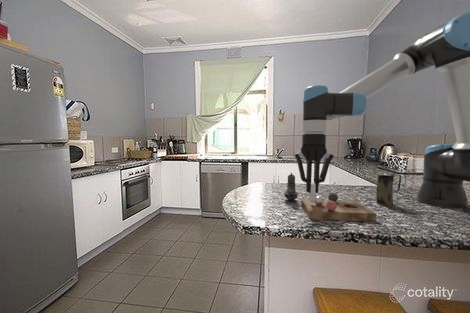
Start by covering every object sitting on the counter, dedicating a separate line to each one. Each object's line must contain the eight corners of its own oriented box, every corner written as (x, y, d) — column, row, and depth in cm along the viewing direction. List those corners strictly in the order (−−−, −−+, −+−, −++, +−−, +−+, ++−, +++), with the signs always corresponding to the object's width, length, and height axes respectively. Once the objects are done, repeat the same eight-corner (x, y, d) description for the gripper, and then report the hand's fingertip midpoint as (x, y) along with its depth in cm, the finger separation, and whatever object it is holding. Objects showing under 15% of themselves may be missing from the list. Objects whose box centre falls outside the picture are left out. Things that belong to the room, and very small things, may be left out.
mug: (379, 205, 86) (381, 174, 85) (373, 201, 91) (374, 172, 90) (402, 206, 84) (404, 175, 83) (395, 202, 90) (396, 173, 89)
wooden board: (356, 207, 83) (356, 201, 83) (376, 221, 69) (376, 213, 69) (301, 206, 85) (301, 199, 85) (309, 219, 71) (309, 211, 71)
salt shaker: (299, 204, 88) (299, 173, 87) (283, 203, 89) (284, 173, 88) (297, 200, 94) (298, 171, 93) (283, 199, 95) (283, 171, 94)
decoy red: (334, 209, 73) (335, 199, 73) (338, 212, 70) (338, 202, 70) (324, 208, 74) (324, 199, 74) (327, 212, 71) (327, 202, 70)
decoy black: (335, 200, 84) (336, 192, 84) (339, 202, 81) (339, 194, 81) (327, 200, 84) (327, 191, 84) (329, 202, 81) (330, 193, 81)
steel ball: (320, 205, 79) (323, 196, 79) (323, 208, 76) (326, 199, 76) (311, 202, 80) (314, 193, 79) (313, 205, 76) (316, 196, 76)
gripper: (330, 133, 79) (327, 199, 81) (292, 133, 81) (291, 198, 82) (337, 133, 72) (334, 205, 74) (296, 133, 73) (294, 204, 75)
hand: (311, 201), depth 78 cm, fingers closed
